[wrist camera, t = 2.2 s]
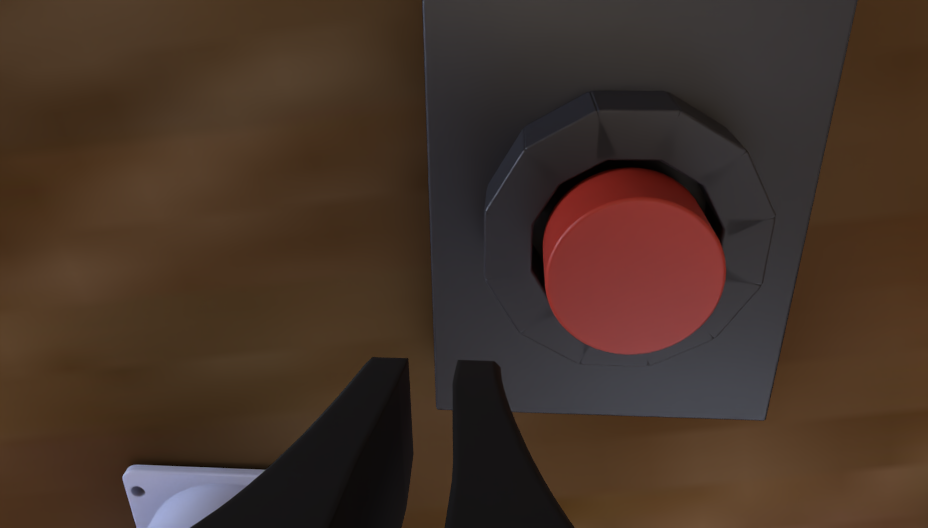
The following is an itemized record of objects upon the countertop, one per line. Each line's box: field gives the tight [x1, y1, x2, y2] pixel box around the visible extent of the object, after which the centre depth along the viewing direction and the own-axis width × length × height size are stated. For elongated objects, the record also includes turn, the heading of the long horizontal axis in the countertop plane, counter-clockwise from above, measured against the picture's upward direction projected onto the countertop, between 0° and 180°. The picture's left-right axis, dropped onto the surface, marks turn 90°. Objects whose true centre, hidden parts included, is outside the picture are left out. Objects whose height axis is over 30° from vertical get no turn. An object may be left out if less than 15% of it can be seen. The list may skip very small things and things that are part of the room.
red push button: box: [542, 167, 726, 355], centre depth 17 cm, size 4×4×2 cm
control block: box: [422, 0, 857, 420], centre depth 20 cm, size 13×10×4 cm
